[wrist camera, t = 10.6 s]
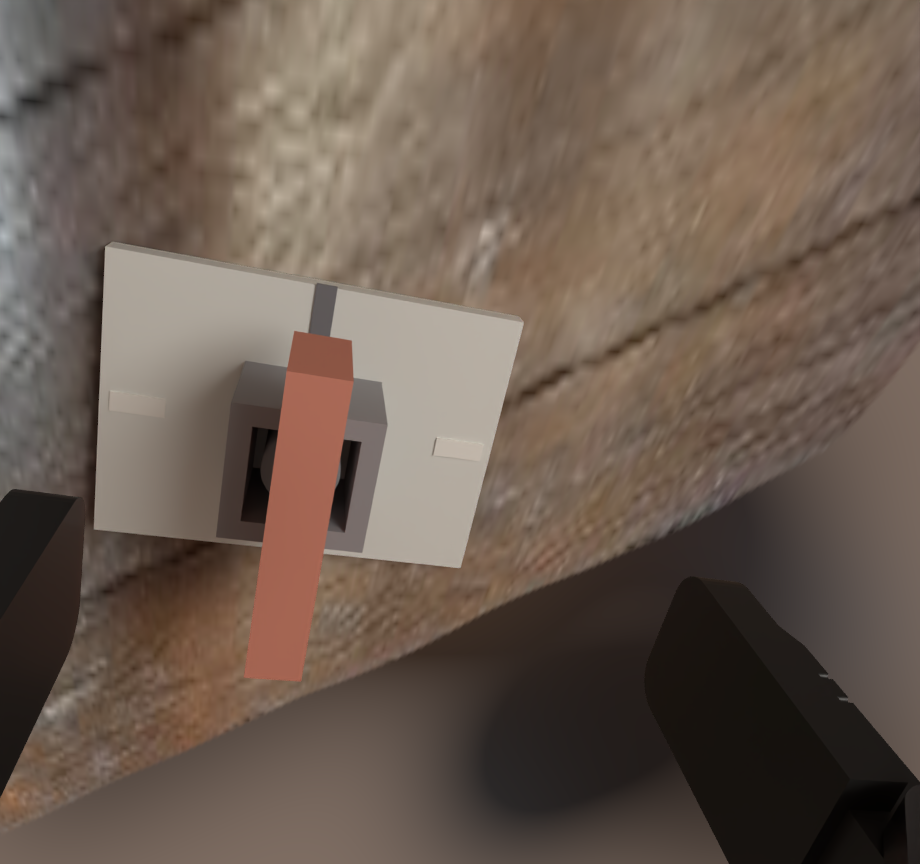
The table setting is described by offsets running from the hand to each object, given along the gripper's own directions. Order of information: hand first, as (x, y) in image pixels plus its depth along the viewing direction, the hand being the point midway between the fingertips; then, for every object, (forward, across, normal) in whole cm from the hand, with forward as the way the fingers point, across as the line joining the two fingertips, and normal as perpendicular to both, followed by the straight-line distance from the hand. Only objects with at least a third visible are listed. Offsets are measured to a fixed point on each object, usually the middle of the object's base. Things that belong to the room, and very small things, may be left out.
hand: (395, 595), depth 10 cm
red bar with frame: (+28, 0, +10) cm, 30 cm away
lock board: (+30, +1, +10) cm, 31 cm away
